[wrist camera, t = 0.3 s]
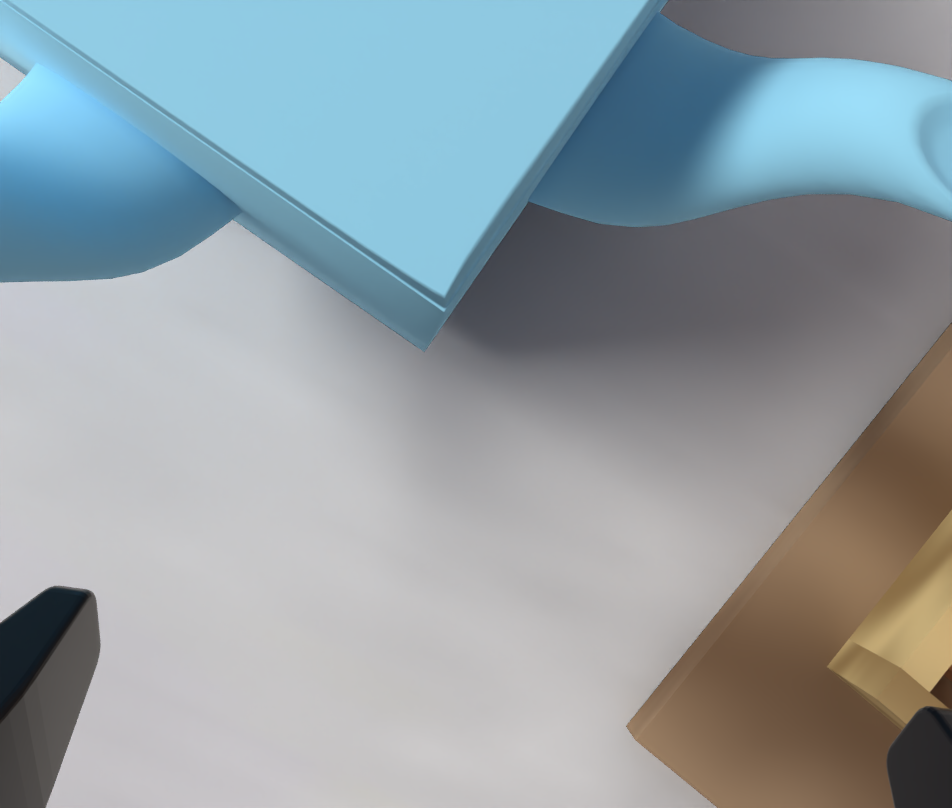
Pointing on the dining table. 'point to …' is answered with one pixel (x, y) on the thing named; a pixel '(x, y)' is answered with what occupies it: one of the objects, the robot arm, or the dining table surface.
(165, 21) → the teakettle
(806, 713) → the brown tray
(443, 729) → the dining table surface
